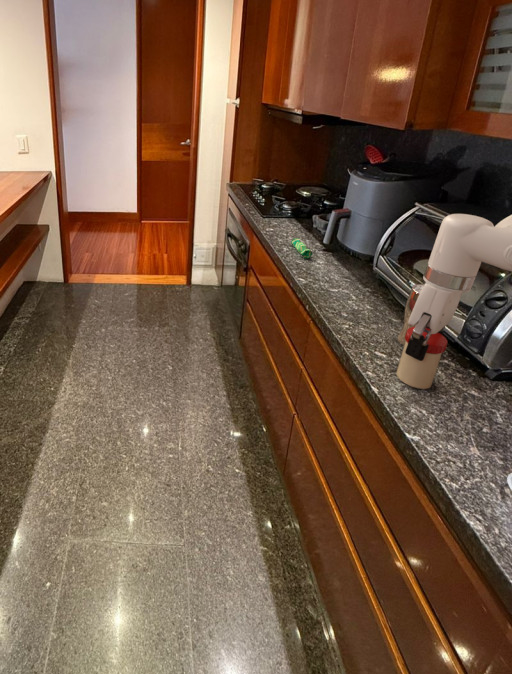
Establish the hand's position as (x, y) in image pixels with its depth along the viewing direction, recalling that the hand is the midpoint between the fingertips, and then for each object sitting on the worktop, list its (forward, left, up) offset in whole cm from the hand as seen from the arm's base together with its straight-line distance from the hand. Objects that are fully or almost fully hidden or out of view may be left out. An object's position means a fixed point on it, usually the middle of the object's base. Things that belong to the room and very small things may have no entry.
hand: (421, 349), depth 83 cm
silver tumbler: (-2, -15, -8) cm, 17 cm away
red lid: (0, 0, +3) cm, 3 cm away
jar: (0, 0, -8) cm, 8 cm away
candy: (+26, -63, -8) cm, 69 cm away
